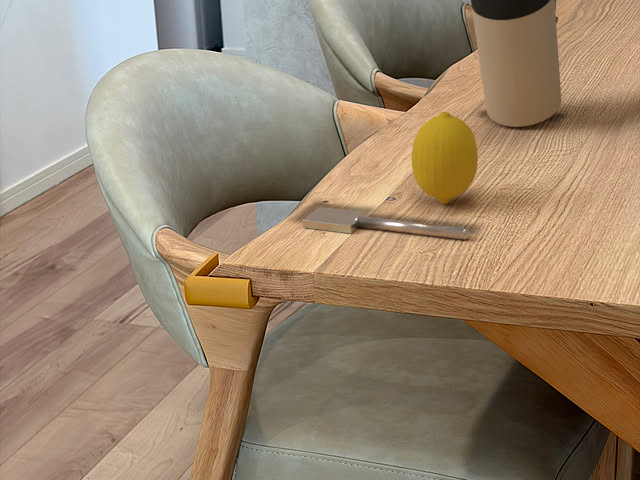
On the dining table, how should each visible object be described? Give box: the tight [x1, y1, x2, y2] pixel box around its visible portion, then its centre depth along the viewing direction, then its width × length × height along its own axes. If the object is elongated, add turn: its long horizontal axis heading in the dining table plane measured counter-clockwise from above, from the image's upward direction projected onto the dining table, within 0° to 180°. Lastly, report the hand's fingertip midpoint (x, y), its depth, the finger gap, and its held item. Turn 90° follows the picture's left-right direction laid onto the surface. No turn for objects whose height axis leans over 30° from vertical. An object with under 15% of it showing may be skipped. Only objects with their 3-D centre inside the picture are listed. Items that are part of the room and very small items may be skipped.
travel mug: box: [470, 0, 562, 128], centre depth 92 cm, size 8×8×18 cm
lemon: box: [411, 111, 479, 205], centre depth 76 cm, size 6×6×8 cm
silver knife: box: [302, 206, 471, 241], centre depth 74 cm, size 14×3×1 cm, turn 64°
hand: (532, 85), depth 101 cm, fingers closed
